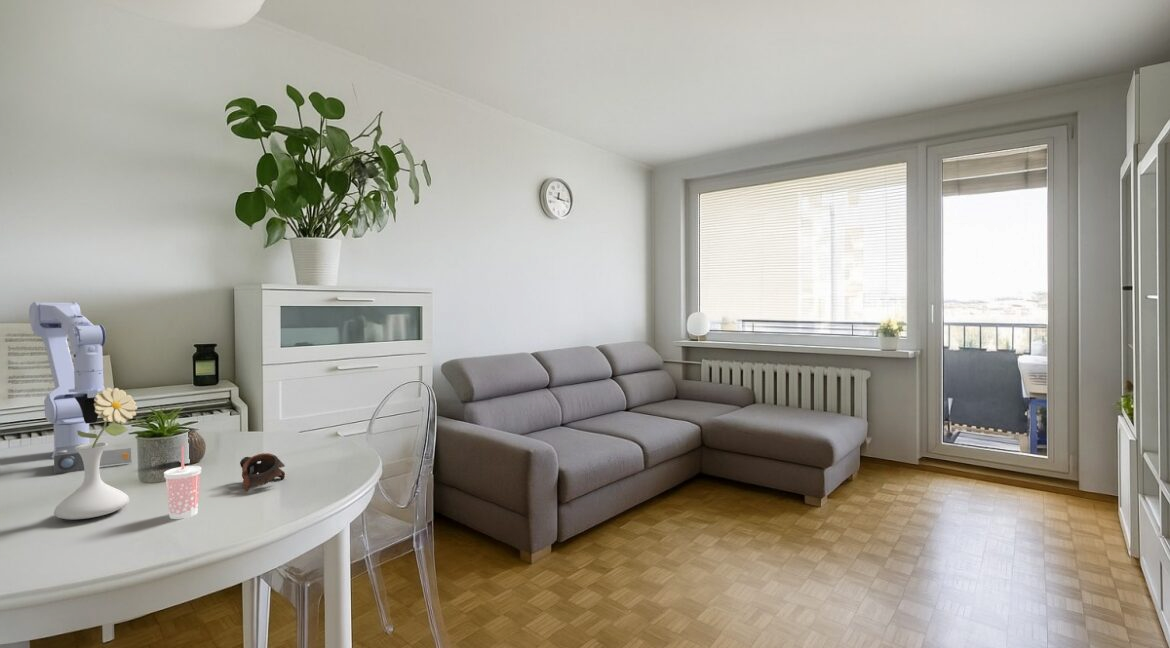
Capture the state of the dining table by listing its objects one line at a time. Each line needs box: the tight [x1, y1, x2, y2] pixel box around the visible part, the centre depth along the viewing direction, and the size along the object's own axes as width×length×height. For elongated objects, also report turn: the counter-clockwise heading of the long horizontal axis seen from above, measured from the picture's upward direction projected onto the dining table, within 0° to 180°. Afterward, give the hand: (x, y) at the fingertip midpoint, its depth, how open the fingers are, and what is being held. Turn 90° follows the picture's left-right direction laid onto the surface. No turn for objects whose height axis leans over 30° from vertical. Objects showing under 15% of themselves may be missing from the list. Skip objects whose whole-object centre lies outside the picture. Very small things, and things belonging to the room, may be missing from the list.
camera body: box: [53, 444, 84, 474], centre depth 142 cm, size 11×6×5 cm, turn 41°
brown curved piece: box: [239, 452, 286, 492], centre depth 130 cm, size 12×10×8 cm
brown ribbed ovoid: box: [188, 428, 207, 465], centre depth 147 cm, size 7×7×9 cm
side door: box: [99, 446, 133, 467], centre depth 143 cm, size 8×1×4 cm, turn 123°
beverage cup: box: [163, 445, 202, 520], centre depth 111 cm, size 6×6×14 cm
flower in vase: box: [53, 387, 138, 520], centre depth 112 cm, size 13×11×25 cm
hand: (90, 422), depth 146 cm, fingers closed
